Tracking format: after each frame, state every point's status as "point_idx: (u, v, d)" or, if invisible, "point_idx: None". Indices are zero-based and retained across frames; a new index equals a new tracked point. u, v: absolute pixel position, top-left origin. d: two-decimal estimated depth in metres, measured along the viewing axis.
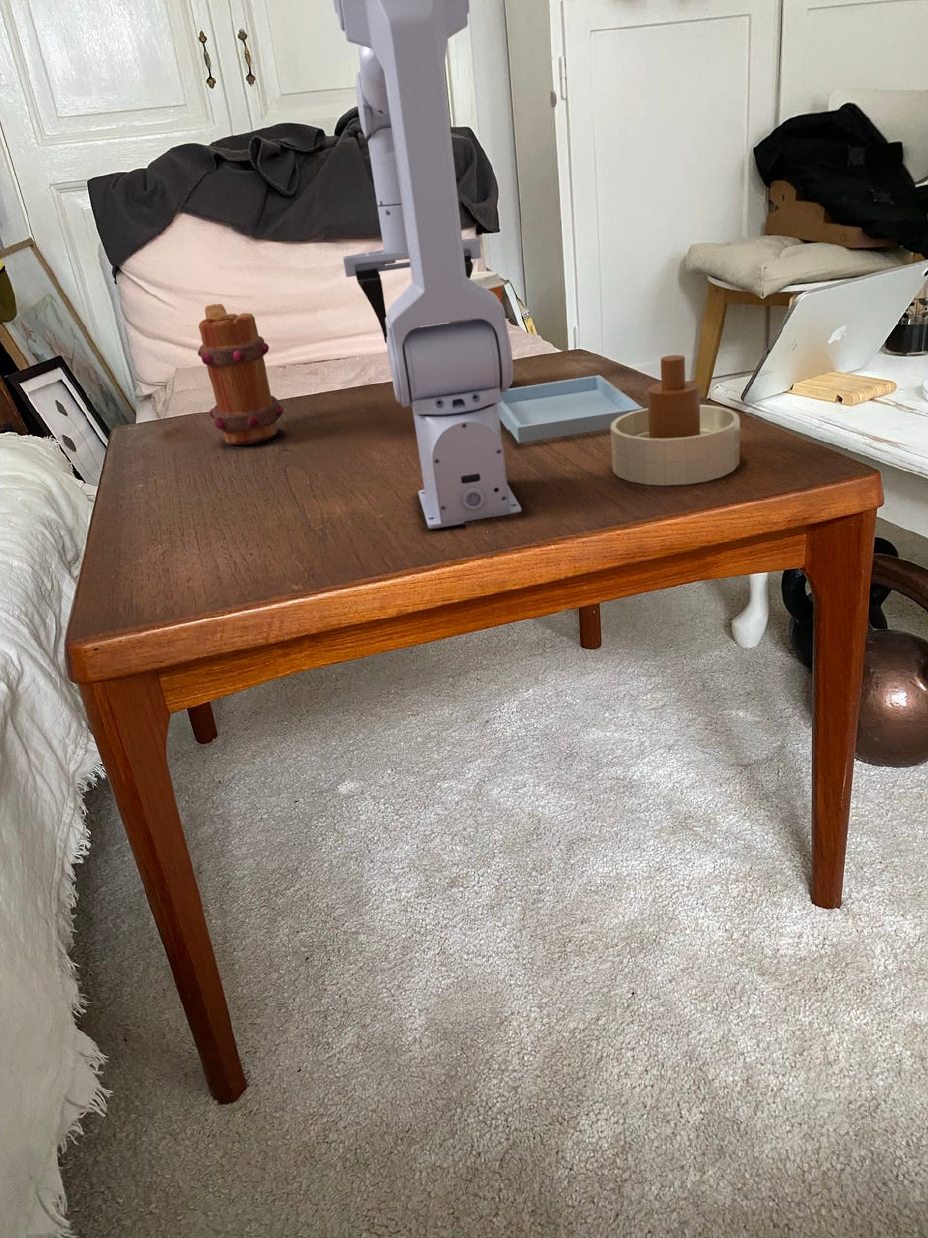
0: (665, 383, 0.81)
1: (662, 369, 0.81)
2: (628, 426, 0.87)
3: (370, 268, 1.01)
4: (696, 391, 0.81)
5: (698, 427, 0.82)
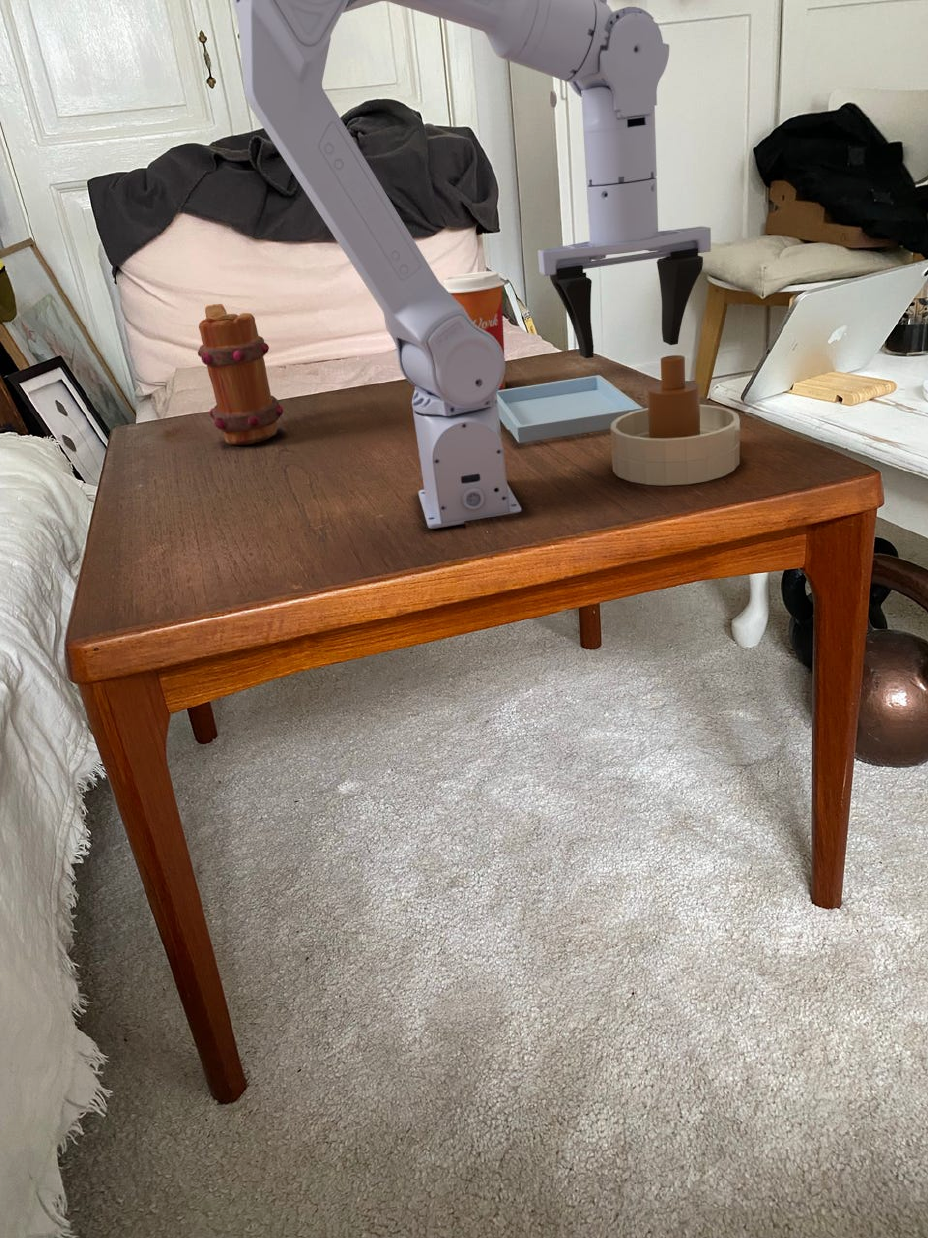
0: (665, 383, 0.81)
1: (662, 369, 0.81)
2: (628, 426, 0.87)
3: (573, 265, 0.80)
4: (696, 391, 0.81)
5: (698, 427, 0.82)
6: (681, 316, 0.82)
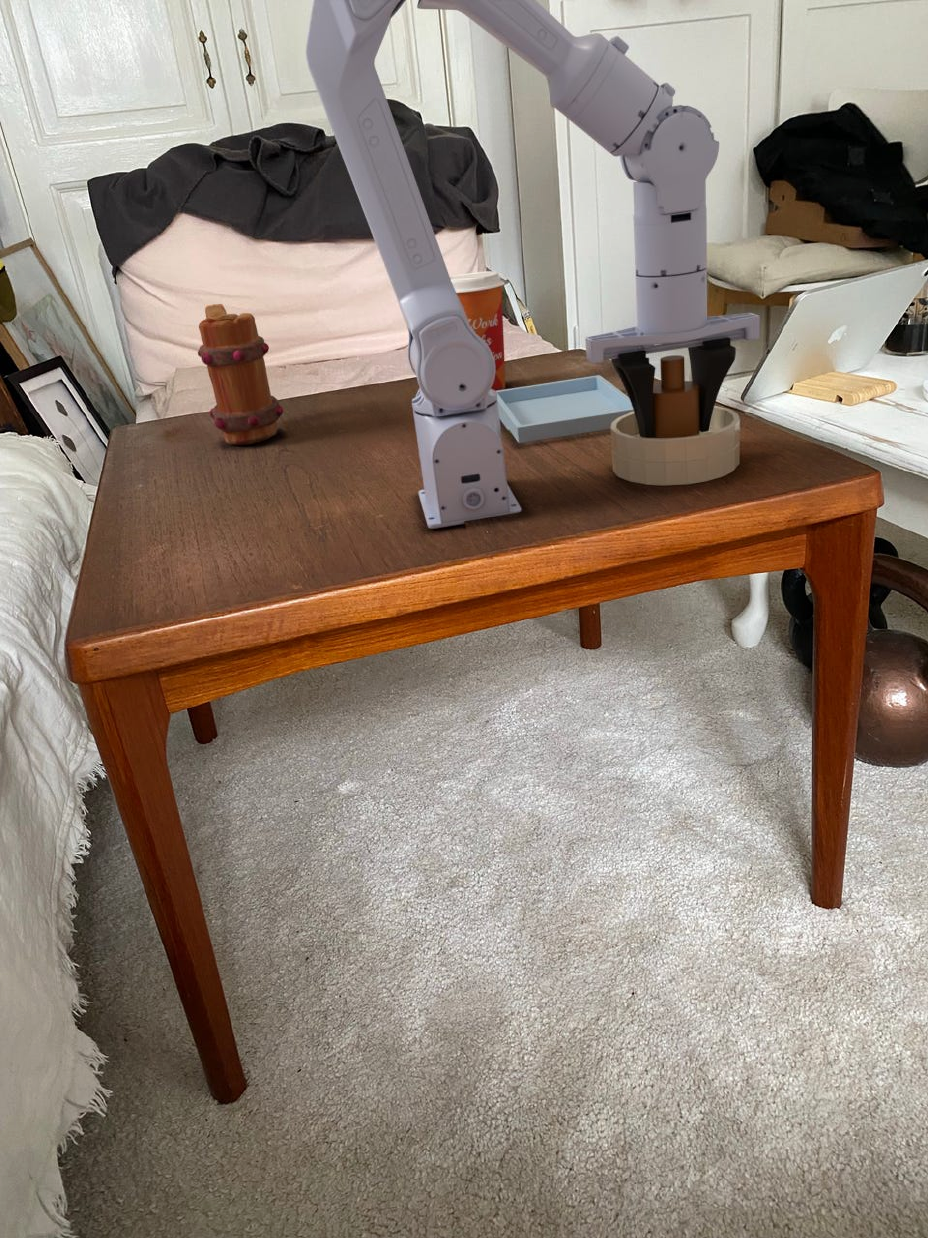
0: (665, 383, 0.81)
1: (662, 369, 0.81)
2: (628, 426, 0.87)
3: (636, 350, 0.80)
4: (696, 391, 0.81)
5: (698, 427, 0.82)
6: (713, 404, 0.82)
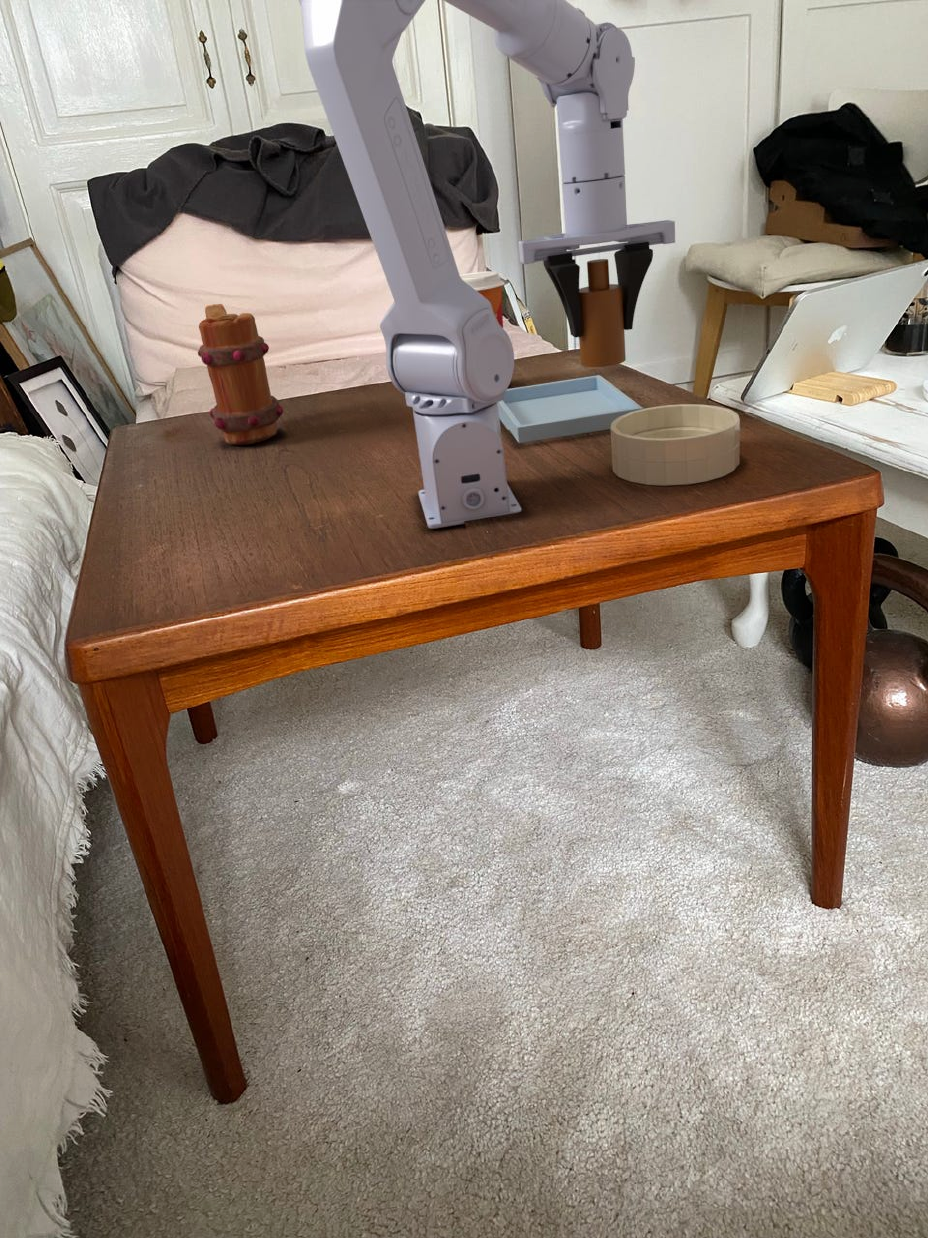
0: (591, 284, 0.90)
1: (588, 271, 0.90)
2: (628, 426, 0.87)
3: (564, 252, 0.89)
4: (618, 291, 0.90)
5: (622, 325, 0.91)
6: (634, 303, 0.90)
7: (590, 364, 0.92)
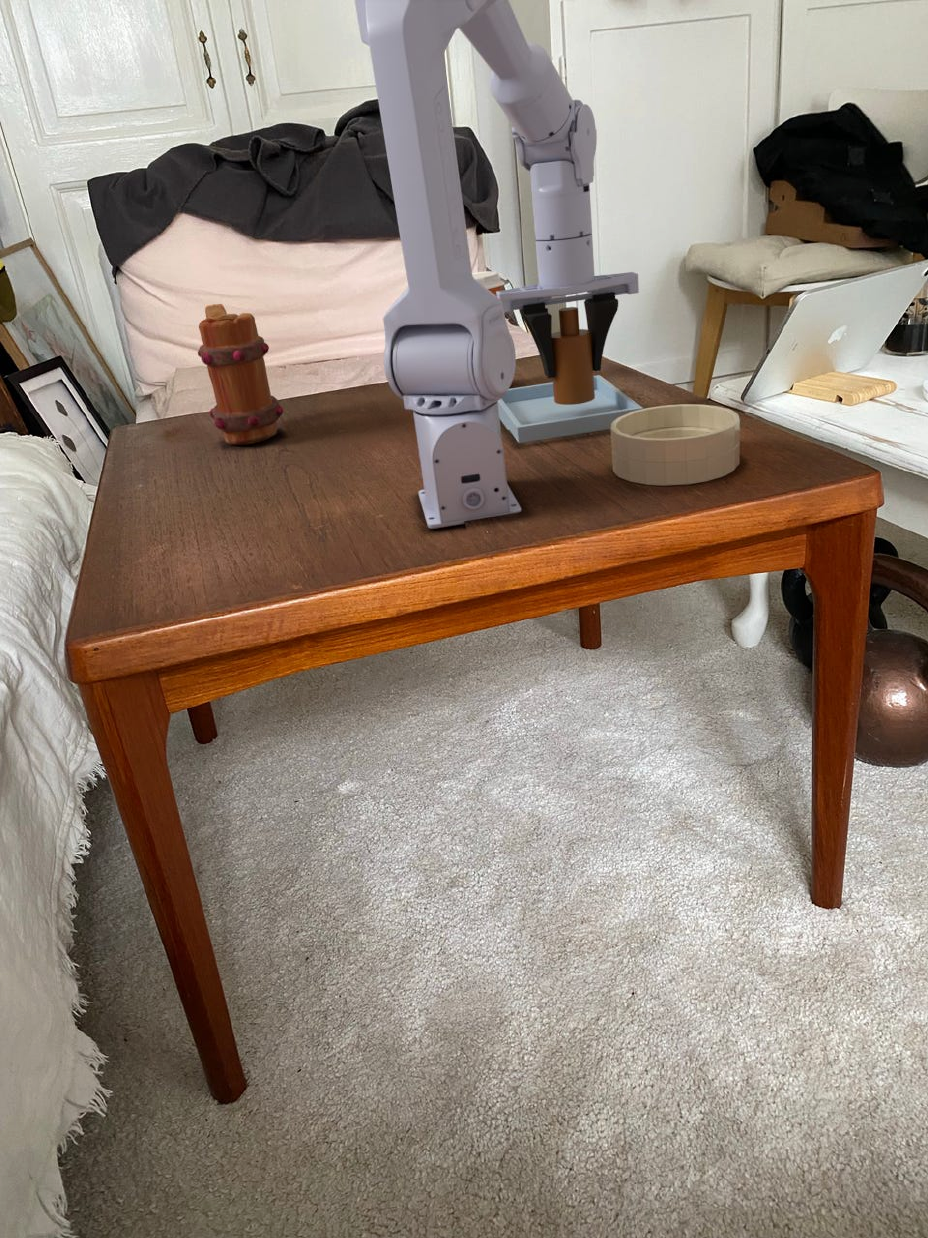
0: (562, 330, 0.99)
1: (560, 318, 0.99)
2: (628, 426, 0.87)
3: (537, 302, 0.98)
4: (587, 336, 0.98)
5: (591, 366, 1.00)
6: (602, 347, 0.99)
7: (562, 402, 1.01)
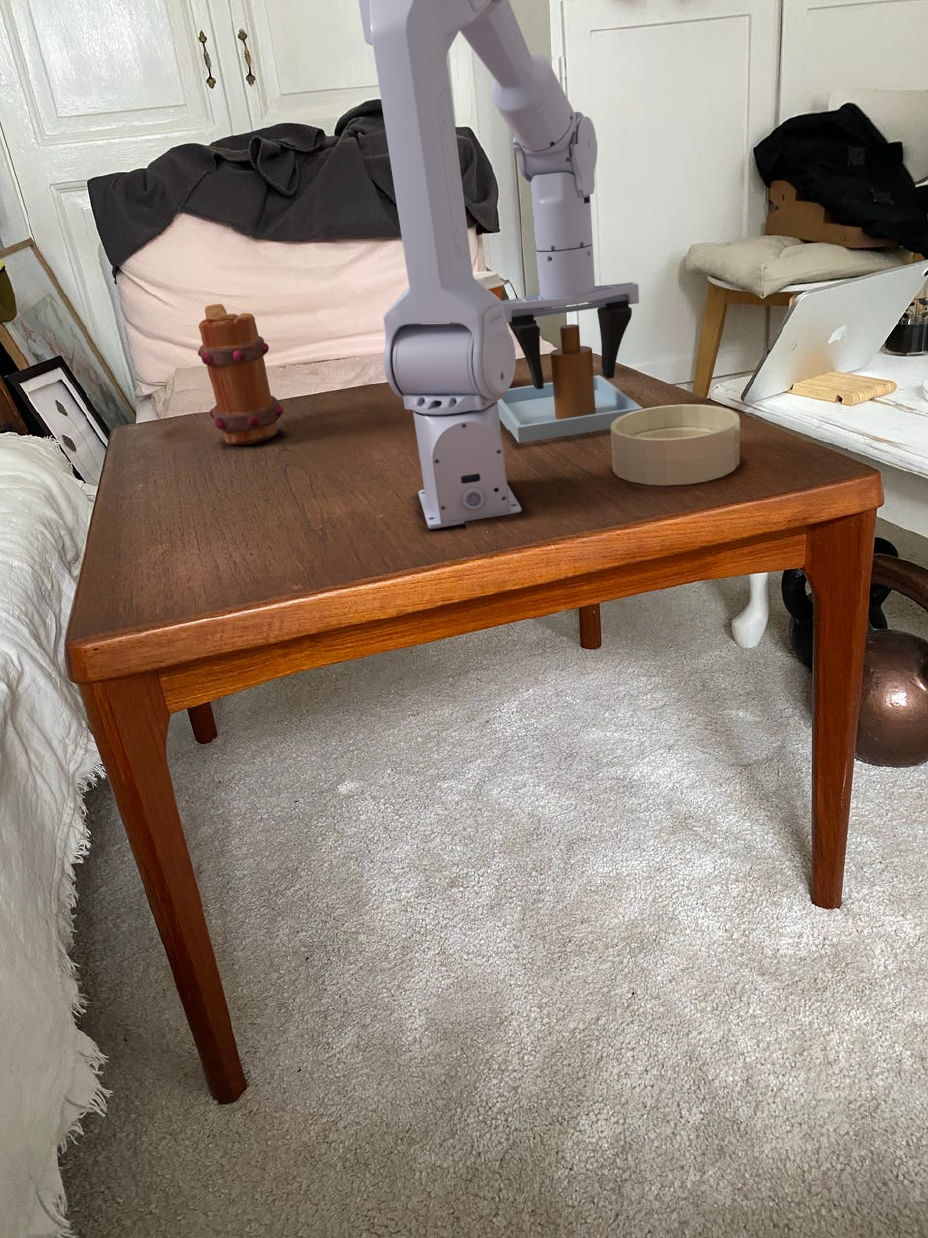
0: (563, 347, 1.00)
1: (561, 335, 1.00)
2: (628, 426, 0.87)
3: (526, 314, 0.98)
4: (588, 353, 0.99)
5: (592, 383, 1.01)
6: (615, 355, 1.00)
7: (563, 418, 1.02)
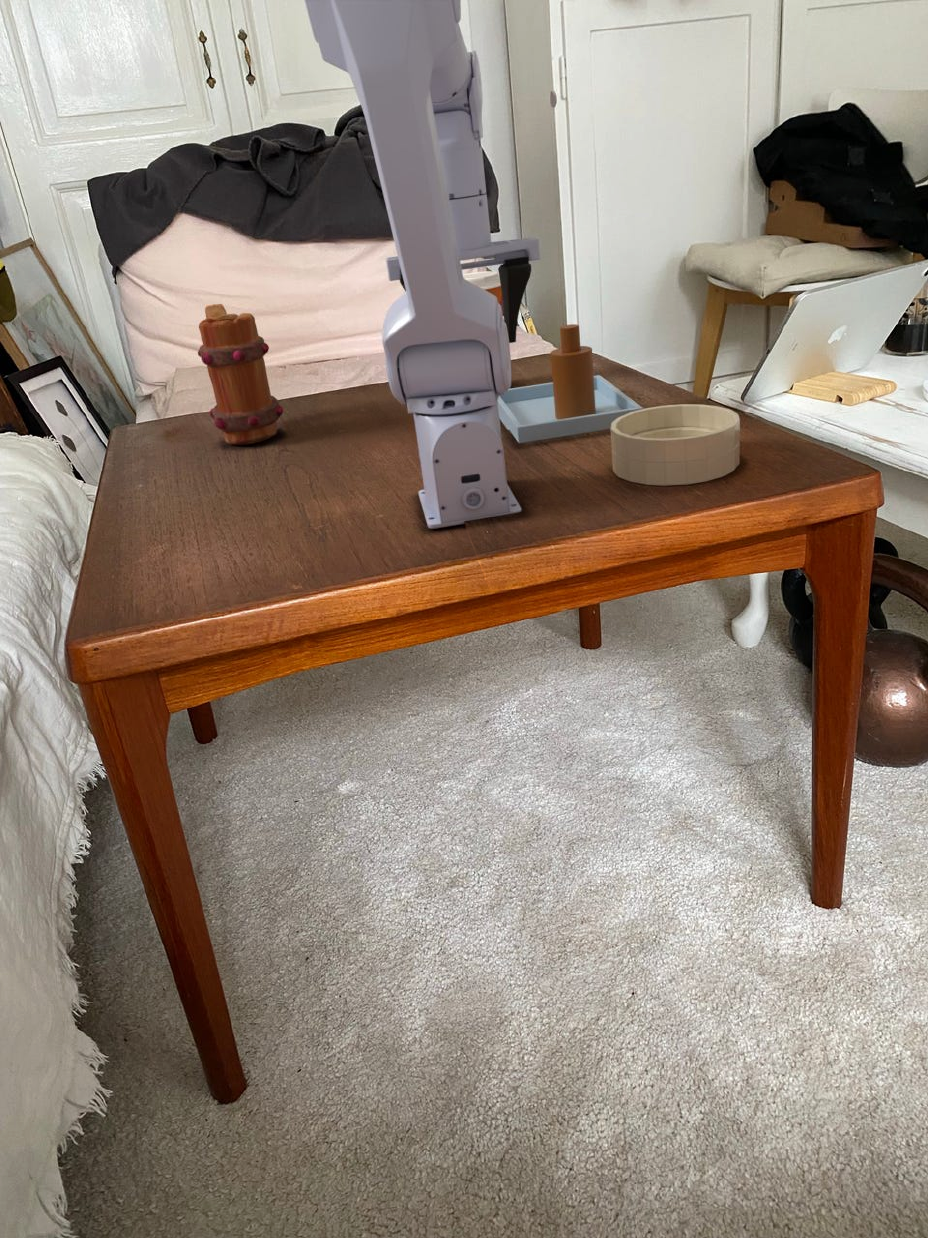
0: (563, 347, 1.00)
1: (561, 335, 1.00)
2: (628, 426, 0.87)
3: None
4: (588, 353, 0.99)
5: (592, 383, 1.01)
6: (516, 317, 0.92)
7: (563, 418, 1.02)
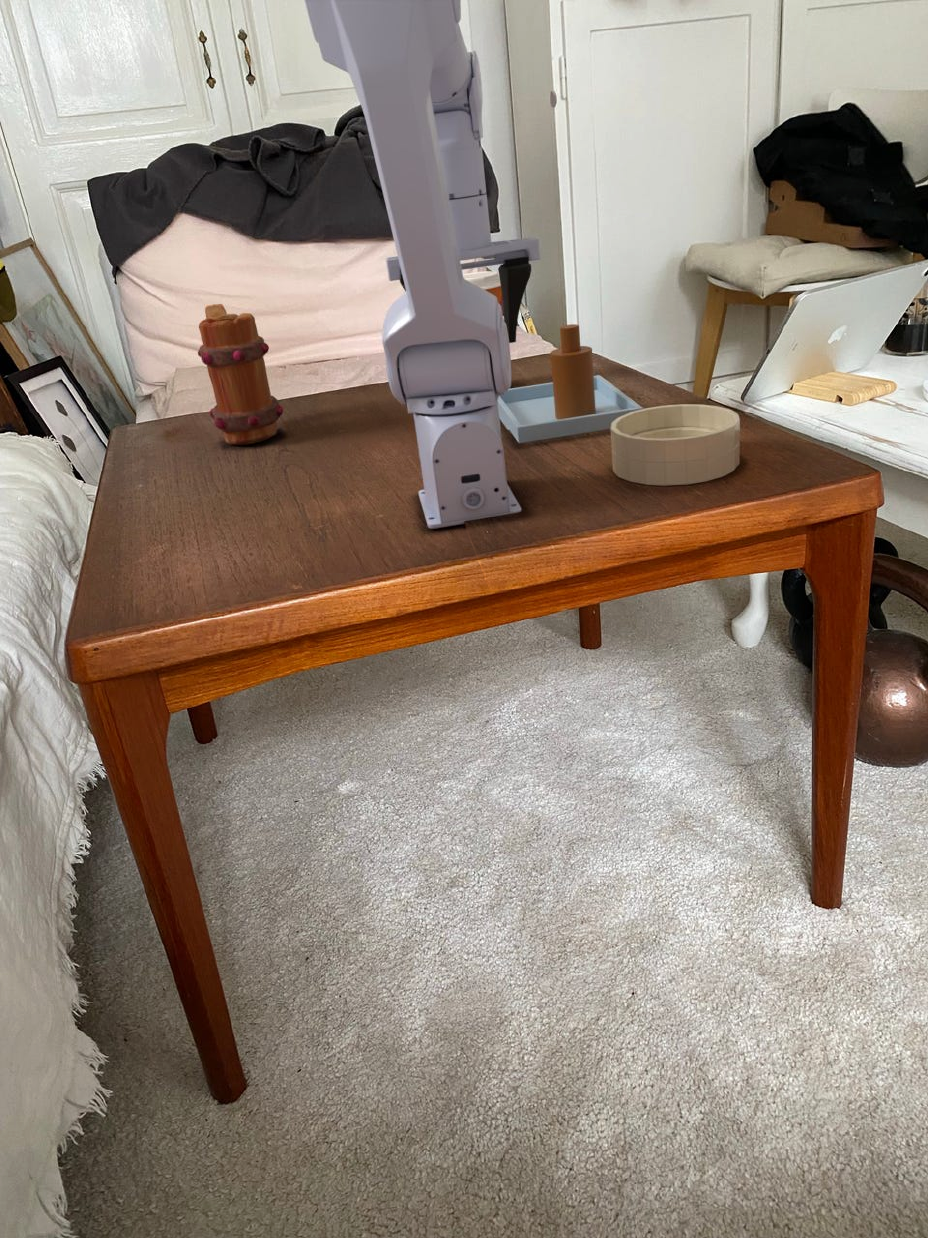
0: (563, 347, 1.00)
1: (561, 335, 1.00)
2: (628, 426, 0.87)
3: None
4: (588, 353, 0.99)
5: (592, 383, 1.01)
6: (516, 317, 0.92)
7: (563, 418, 1.02)
